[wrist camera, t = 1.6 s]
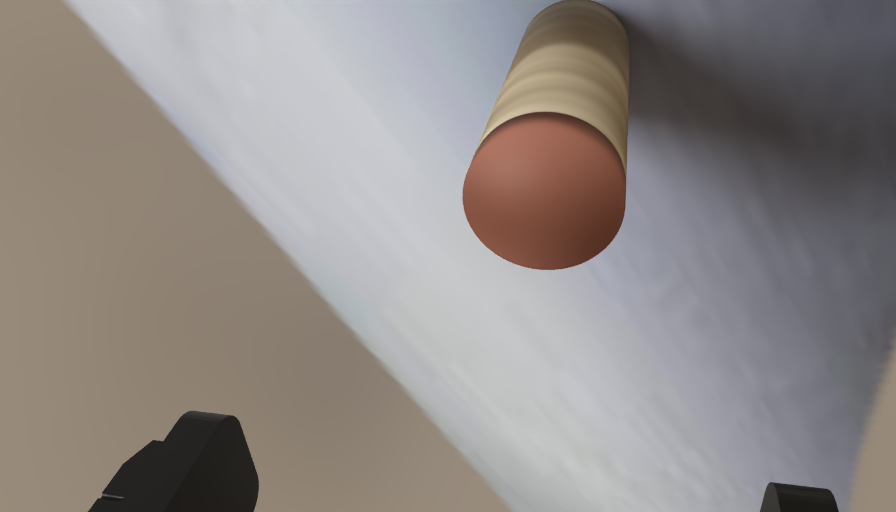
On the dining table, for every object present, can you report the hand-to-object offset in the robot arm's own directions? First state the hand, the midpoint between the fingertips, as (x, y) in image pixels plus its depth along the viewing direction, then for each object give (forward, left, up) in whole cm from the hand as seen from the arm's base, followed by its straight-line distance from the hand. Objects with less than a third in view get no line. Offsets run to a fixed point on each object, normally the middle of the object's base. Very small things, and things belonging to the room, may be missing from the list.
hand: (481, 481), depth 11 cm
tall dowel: (0, 0, -19) cm, 19 cm away
